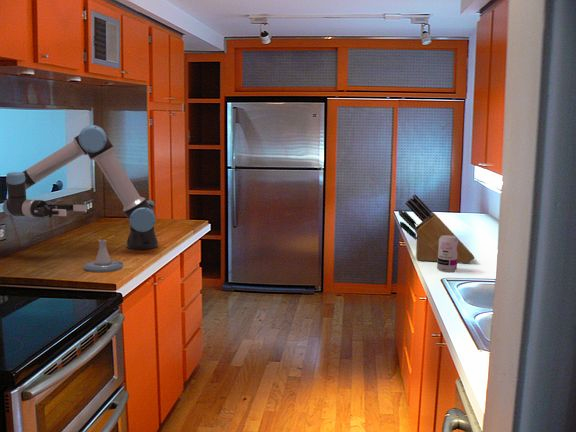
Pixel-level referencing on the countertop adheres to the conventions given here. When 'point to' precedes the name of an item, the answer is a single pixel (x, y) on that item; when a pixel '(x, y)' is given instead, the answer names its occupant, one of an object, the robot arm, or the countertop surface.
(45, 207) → the robot arm
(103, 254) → the flask
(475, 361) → the countertop surface
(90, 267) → the dish
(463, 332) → the countertop surface
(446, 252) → the supplement can
